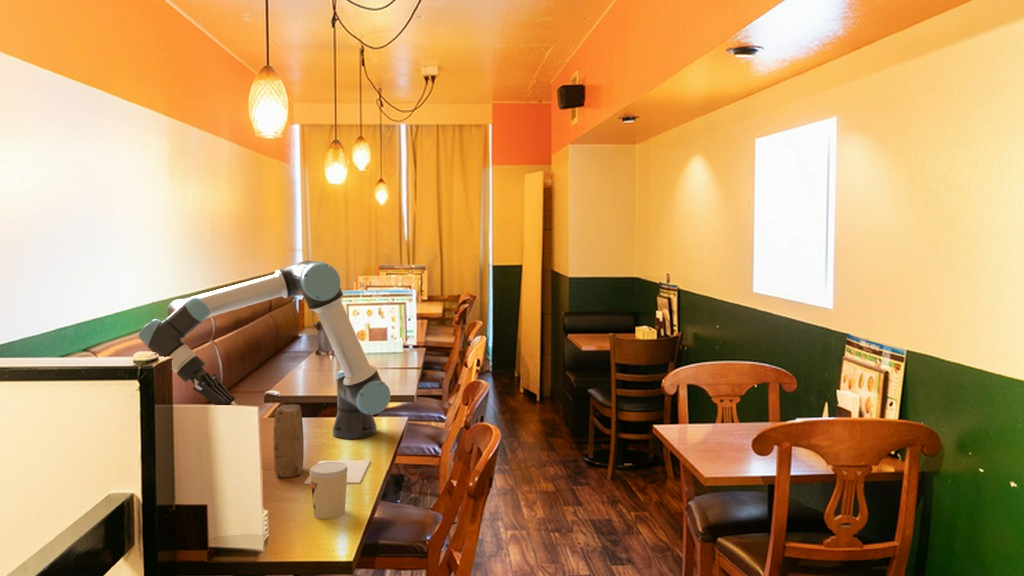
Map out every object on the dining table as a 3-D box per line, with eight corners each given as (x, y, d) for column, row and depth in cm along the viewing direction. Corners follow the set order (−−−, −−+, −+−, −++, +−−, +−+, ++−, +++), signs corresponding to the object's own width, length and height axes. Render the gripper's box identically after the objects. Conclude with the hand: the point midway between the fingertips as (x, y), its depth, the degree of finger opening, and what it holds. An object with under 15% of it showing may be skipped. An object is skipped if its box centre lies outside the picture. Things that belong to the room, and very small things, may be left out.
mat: (319, 462, 235) (319, 460, 235) (370, 461, 235) (370, 460, 235) (304, 484, 215) (304, 482, 215) (359, 483, 215) (359, 482, 215)
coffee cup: (313, 507, 198) (313, 461, 197) (350, 506, 198) (349, 461, 197) (307, 520, 188) (306, 473, 187) (345, 519, 189) (345, 472, 188)
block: (298, 478, 219) (297, 410, 218) (272, 479, 219) (270, 410, 217) (306, 466, 230) (305, 401, 228) (281, 467, 230) (280, 402, 228)
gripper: (185, 368, 227) (243, 423, 229) (167, 377, 214) (229, 435, 216) (203, 351, 227) (261, 406, 229) (186, 359, 214) (247, 417, 216)
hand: (245, 420), depth 222 cm, fingers closed
